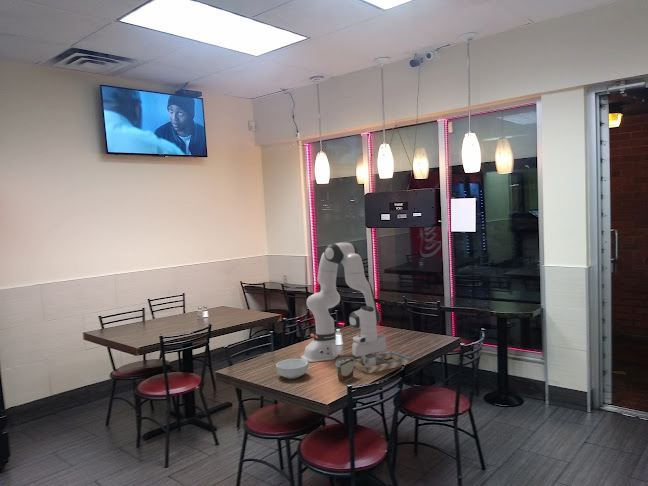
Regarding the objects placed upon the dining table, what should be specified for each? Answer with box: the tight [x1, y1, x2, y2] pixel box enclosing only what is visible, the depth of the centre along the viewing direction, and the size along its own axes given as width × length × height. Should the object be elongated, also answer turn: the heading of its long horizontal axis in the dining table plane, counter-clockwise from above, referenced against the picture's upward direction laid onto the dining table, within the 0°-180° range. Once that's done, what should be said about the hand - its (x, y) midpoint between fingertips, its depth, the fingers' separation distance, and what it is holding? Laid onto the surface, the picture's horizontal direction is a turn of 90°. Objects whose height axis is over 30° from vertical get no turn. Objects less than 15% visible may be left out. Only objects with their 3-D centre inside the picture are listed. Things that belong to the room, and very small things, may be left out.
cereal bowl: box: [275, 358, 309, 380], centre depth 255 cm, size 17×17×7 cm
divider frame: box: [354, 351, 410, 374], centre depth 267 cm, size 27×17×4 cm, turn 117°
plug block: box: [364, 353, 377, 367], centre depth 264 cm, size 4×5×7 cm
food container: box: [334, 356, 355, 383], centre depth 247 cm, size 12×6×10 cm, turn 141°
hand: (370, 361), depth 264 cm, fingers open, 5 cm apart
